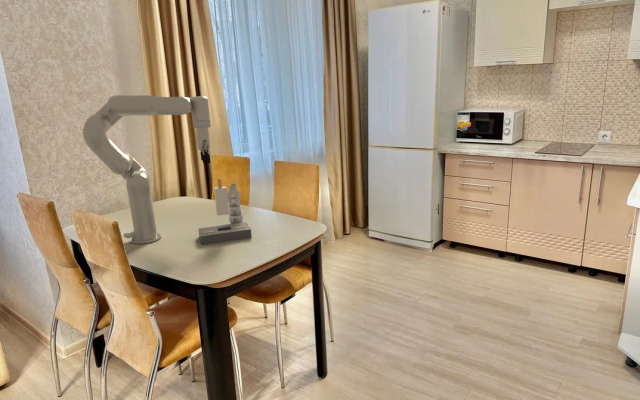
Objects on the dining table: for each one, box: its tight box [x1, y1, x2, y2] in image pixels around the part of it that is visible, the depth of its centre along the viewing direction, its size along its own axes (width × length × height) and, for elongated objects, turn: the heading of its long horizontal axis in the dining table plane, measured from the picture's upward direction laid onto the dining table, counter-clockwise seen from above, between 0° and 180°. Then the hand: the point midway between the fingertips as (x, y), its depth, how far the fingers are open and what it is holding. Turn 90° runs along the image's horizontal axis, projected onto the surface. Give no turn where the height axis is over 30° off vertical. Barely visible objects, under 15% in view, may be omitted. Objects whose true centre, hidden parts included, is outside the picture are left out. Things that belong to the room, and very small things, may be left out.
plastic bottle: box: [227, 183, 244, 224], centre depth 218 cm, size 6×7×20 cm
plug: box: [213, 178, 229, 216], centre depth 197 cm, size 5×4×16 cm
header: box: [198, 221, 253, 246], centre depth 201 cm, size 22×12×4 cm, turn 110°
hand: (205, 161), depth 204 cm, fingers open, 9 cm apart
